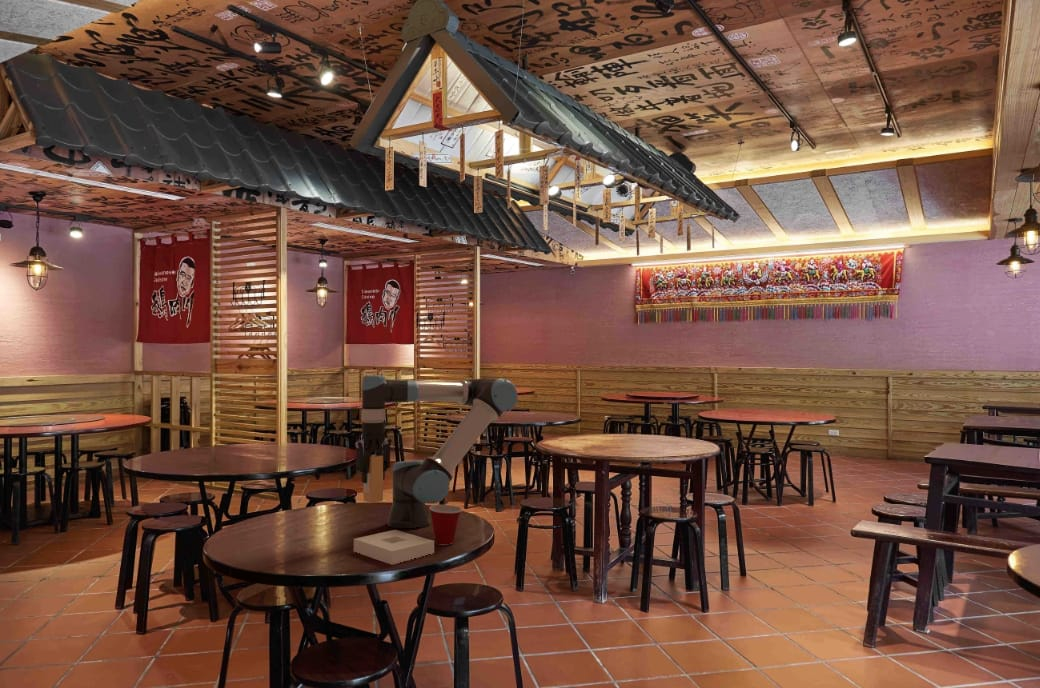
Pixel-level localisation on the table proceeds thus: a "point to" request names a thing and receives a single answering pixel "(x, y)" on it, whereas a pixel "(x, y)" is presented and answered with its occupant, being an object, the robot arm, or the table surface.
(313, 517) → the table surface
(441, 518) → the plastic cup
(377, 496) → the plug block
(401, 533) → the socket plate
